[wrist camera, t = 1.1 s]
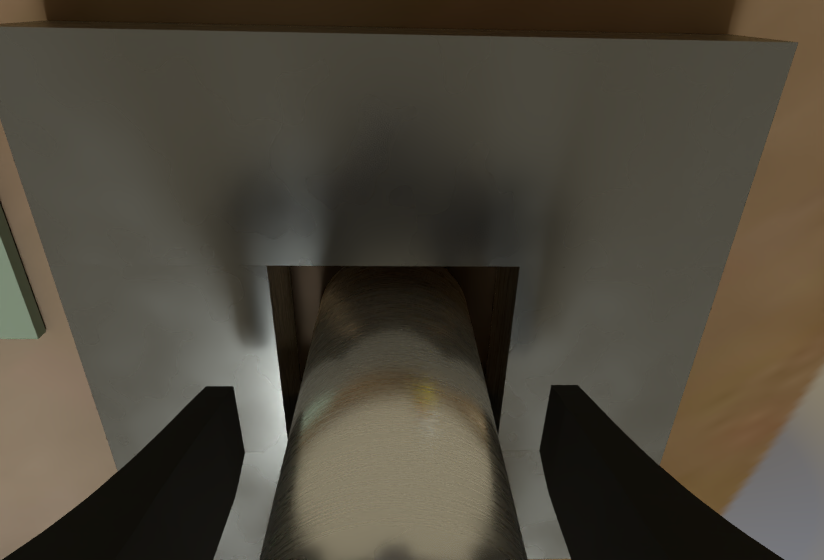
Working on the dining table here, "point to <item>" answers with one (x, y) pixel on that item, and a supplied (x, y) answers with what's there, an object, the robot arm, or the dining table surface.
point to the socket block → (384, 210)
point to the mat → (15, 293)
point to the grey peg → (393, 431)
